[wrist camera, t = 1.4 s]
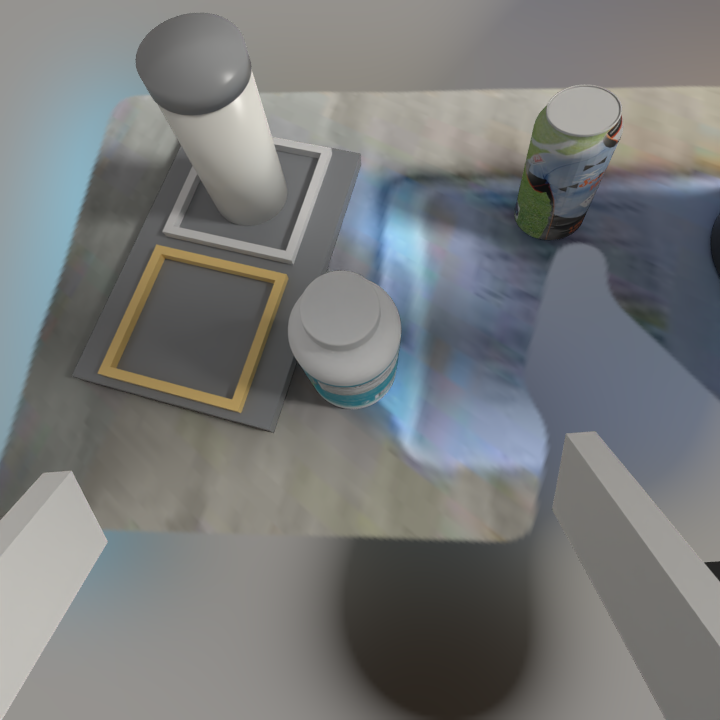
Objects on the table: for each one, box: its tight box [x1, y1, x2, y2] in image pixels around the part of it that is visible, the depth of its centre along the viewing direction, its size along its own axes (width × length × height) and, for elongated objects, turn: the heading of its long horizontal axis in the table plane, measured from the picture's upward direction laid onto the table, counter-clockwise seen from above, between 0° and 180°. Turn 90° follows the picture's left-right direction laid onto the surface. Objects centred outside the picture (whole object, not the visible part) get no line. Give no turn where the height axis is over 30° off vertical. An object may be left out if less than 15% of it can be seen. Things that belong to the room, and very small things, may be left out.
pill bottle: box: [288, 271, 401, 409], centre depth 31 cm, size 8×7×14 cm
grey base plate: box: [72, 137, 361, 433], centre depth 40 cm, size 18×28×2 cm, turn 165°
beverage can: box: [514, 85, 623, 240], centre depth 35 cm, size 6×7×12 cm
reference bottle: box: [136, 13, 287, 226], centre depth 35 cm, size 7×7×14 cm
